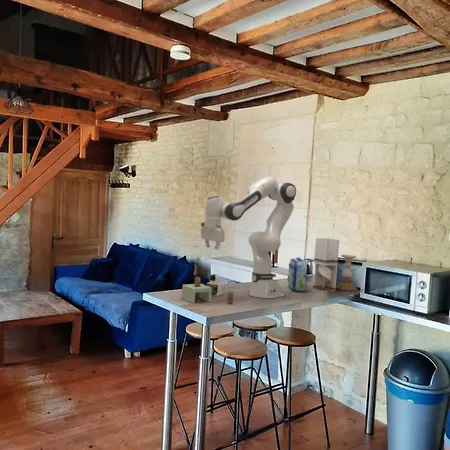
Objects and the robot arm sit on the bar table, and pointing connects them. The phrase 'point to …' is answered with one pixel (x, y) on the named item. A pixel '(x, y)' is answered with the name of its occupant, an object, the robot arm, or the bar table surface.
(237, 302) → the bar table surface
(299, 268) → the lunch box
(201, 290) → the bridge
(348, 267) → the candle holder
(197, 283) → the long pin
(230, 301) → the short pin
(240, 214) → the robot arm
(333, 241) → the white stand
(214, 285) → the medicine bottle
